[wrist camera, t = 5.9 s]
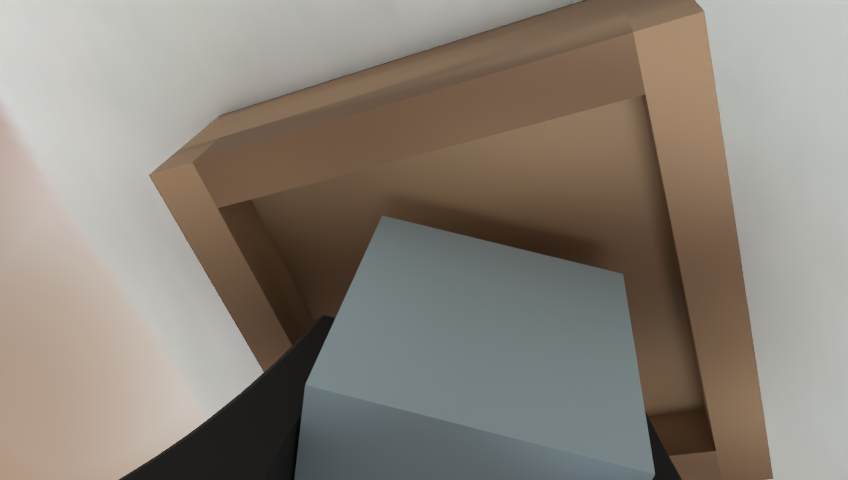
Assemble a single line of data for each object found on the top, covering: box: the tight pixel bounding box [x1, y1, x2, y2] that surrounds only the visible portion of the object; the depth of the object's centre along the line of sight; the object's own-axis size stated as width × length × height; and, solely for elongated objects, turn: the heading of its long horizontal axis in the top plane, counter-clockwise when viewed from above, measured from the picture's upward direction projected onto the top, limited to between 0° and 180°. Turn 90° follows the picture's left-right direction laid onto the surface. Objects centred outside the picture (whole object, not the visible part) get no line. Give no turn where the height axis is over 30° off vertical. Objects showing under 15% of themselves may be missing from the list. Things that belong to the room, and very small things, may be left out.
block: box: [294, 216, 655, 480], centre depth 11 cm, size 4×4×4 cm
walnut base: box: [149, 0, 773, 480], centre depth 15 cm, size 10×10×3 cm
